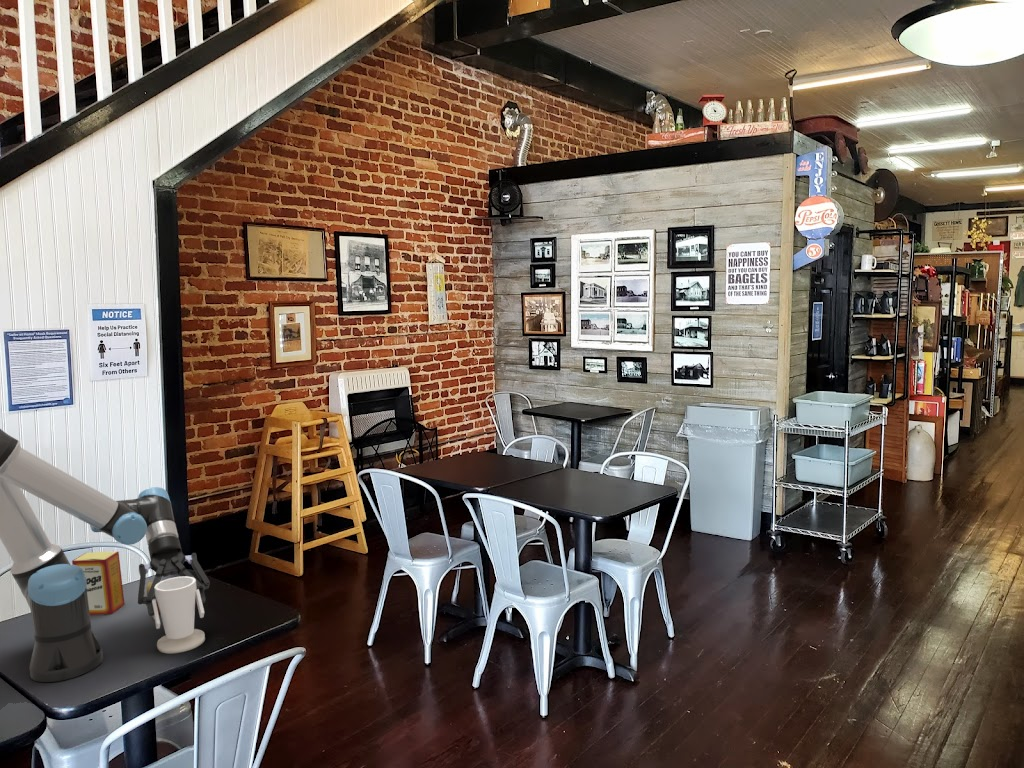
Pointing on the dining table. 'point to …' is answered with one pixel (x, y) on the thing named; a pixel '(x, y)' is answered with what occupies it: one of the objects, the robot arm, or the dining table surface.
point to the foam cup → (177, 605)
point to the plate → (181, 643)
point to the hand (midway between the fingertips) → (180, 620)
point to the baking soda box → (102, 581)
